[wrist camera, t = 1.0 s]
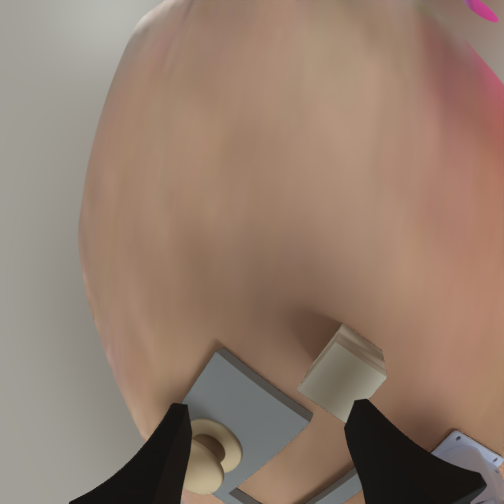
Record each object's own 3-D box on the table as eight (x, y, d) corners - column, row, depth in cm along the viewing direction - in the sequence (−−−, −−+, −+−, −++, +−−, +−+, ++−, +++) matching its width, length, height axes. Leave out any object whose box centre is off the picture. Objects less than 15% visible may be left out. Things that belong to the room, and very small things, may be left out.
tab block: (382, 350, 20) (387, 377, 14) (351, 388, 21) (345, 423, 15) (342, 323, 21) (335, 341, 16) (313, 361, 22) (296, 389, 16)
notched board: (387, 460, 19) (388, 469, 17) (286, 529, 21) (282, 537, 20) (223, 347, 25) (215, 351, 24) (160, 439, 27) (152, 444, 26)
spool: (255, 448, 22) (233, 476, 17) (222, 477, 23) (200, 502, 18) (201, 406, 24) (172, 427, 20) (176, 439, 25) (148, 459, 21)
